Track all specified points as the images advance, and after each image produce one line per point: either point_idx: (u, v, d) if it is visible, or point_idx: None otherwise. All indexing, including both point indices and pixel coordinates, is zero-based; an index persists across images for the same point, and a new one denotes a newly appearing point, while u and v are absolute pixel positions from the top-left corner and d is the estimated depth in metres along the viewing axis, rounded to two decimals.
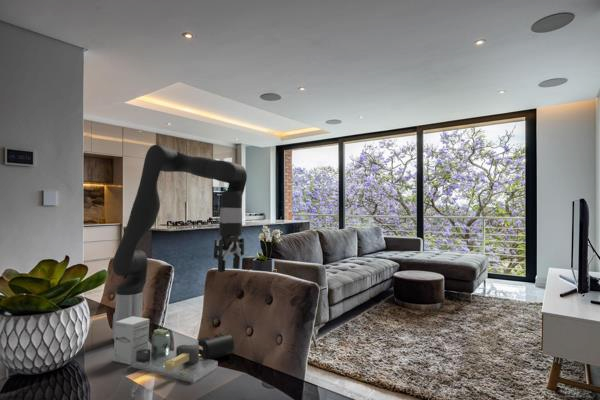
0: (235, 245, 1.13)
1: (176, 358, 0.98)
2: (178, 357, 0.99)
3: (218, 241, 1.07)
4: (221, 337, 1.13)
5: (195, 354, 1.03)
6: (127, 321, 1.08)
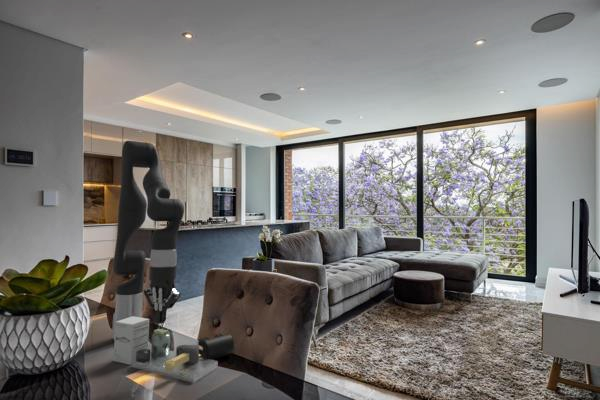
0: None
1: (176, 358, 0.98)
2: (178, 357, 0.99)
3: (178, 295, 0.99)
4: (221, 337, 1.13)
5: (195, 354, 1.03)
6: (127, 321, 1.08)
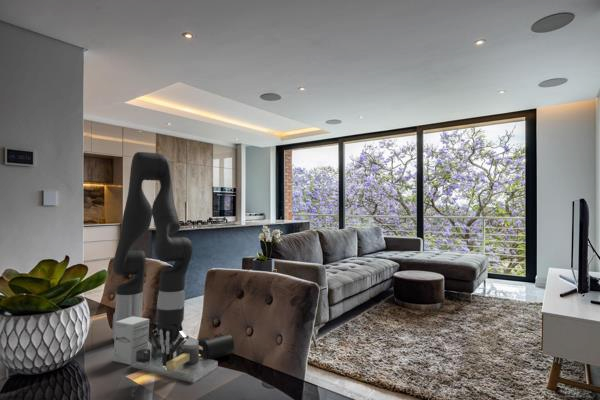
0: None
1: (177, 358, 0.98)
2: (179, 357, 0.98)
3: (185, 339, 0.96)
4: (221, 337, 1.13)
5: (196, 354, 1.03)
6: (127, 321, 1.08)
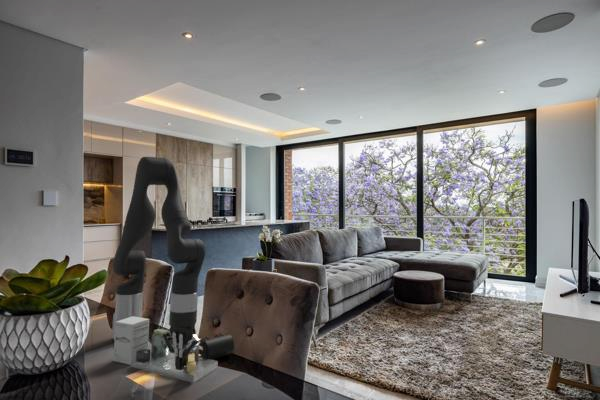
0: None
1: (191, 359, 0.98)
2: (191, 357, 0.98)
3: (199, 342, 0.95)
4: (221, 337, 1.13)
5: (198, 353, 1.04)
6: (127, 321, 1.08)
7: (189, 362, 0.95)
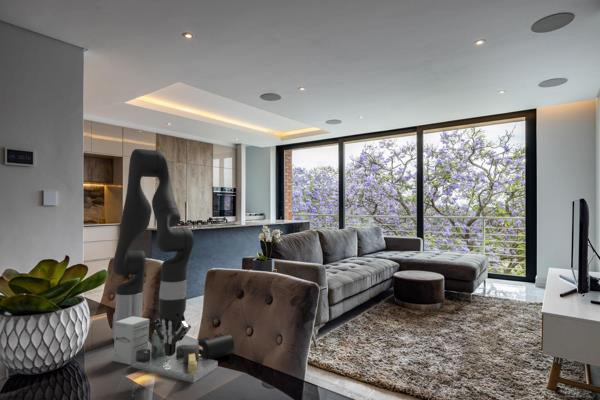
0: None
1: (192, 358, 0.98)
2: (192, 357, 0.99)
3: (188, 328, 0.97)
4: (221, 337, 1.13)
5: (198, 352, 1.04)
6: (127, 321, 1.08)
7: (190, 362, 0.95)
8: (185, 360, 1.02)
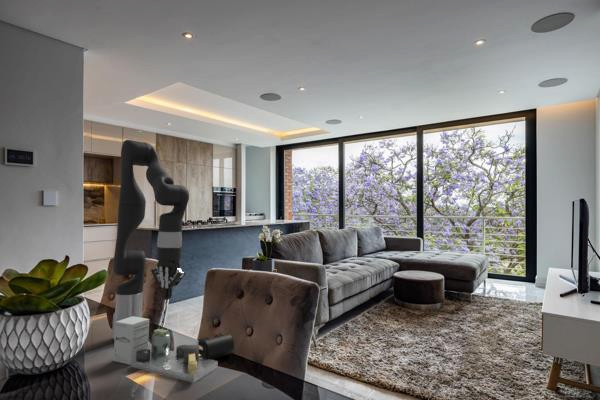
0: None
1: (192, 358, 0.98)
2: (192, 357, 0.99)
3: (183, 274, 1.07)
4: (221, 337, 1.13)
5: (198, 352, 1.04)
6: (127, 321, 1.08)
7: (190, 362, 0.95)
8: (185, 360, 1.02)
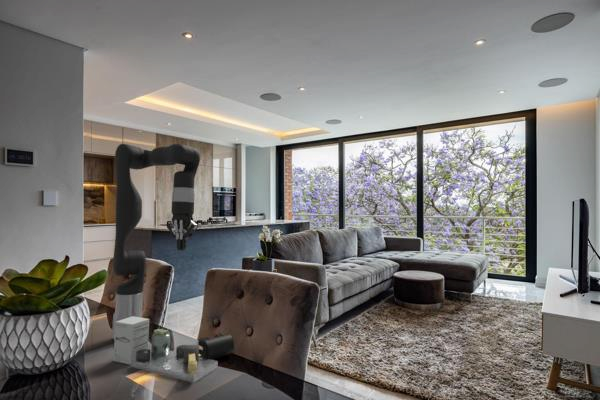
0: None
1: (192, 358, 0.98)
2: (192, 357, 0.99)
3: (196, 226, 1.16)
4: (221, 337, 1.13)
5: (198, 352, 1.04)
6: (127, 321, 1.08)
7: (190, 362, 0.95)
8: (185, 360, 1.02)
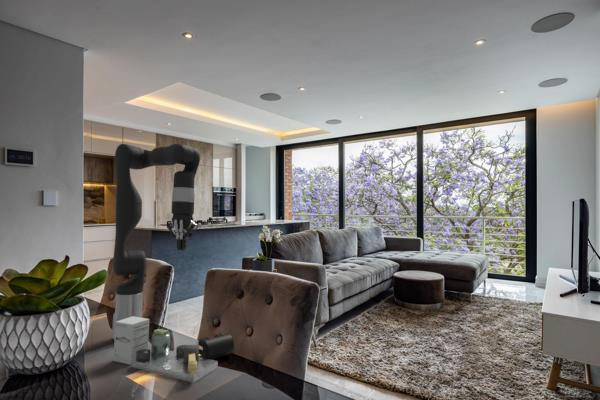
0: None
1: (192, 358, 0.98)
2: (192, 357, 0.99)
3: (196, 226, 1.16)
4: (221, 337, 1.13)
5: (198, 352, 1.04)
6: (127, 321, 1.08)
7: (190, 362, 0.95)
8: (185, 360, 1.02)
